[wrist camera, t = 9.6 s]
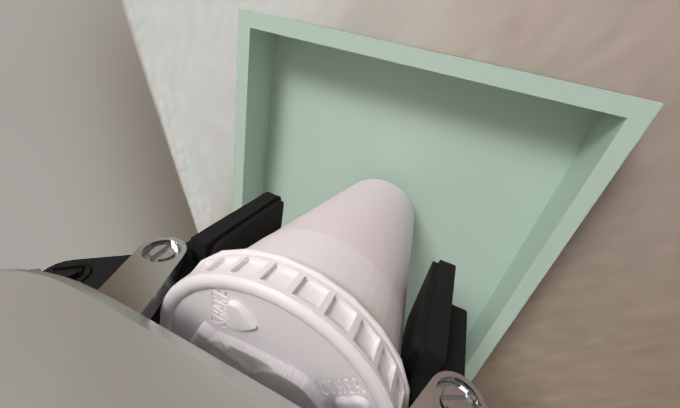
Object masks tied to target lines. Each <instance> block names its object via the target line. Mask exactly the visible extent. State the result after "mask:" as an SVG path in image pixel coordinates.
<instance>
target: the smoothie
mask: <svg viewBox="0 0 680 408" xmlns="http://www.w3.org/2000/svg"><path fill="white" fill-rule="evenodd" d="M413 226H414V210H413V207H412V204H411V202H410V200H409V198H408V197H407V196H406V194H405V193H404V192H403V191H402V190H401V189H400V188H398V187H397V186H395V185H394V184H392V183H390V182H387V181H384V180H380V179H367V180H363V181H360V182H358V183H356V184H354V185H353V186H351V187H349V188H348V189H346V190H344V191H343V192H341V193H339V194H338V195H336V196H334V197H333V198H331V199H329V200H327V201H326V202H324V203H322V204H321V205H319V206H317V207H316V208H314V209H312V210H311V211H309V212H307V213H306V214H304V215H302V216H301V217H299V218H297V219H295V220H294V221H292V222H290V223H289V224H287V225H285V226H284V227H282V228H280V229H279V230H277V231H275V232H274V233H272V234H270V235H268V236H266V237H264V238H263V239H261V240H259V241H258V242H256V243H255V244H253V245H251V246H250V247H248V248H247V249H234V250H222V251H220V252H218V253H216V254H214V255H211V256H209V257H207V258H205V259H203V260H201V261H200V262H199V264H198V265H197V266H196V267H195V268H194V270H193V271H192V272H191V273H190V274H188V275H187V276H186V277H184V278H183V279H181V280H180V281H179V282H177V283H176V284H175V285H173V286H172V287H171V289H170V290H169V291H168V292H167V294H166V296H165V297H164V300H163V303H162V306H161V311H160V326H162V327H164V328H166V329H167V330H169V331H171V332H173V333H174V334H176V335H178V336H179V337H181V338H183V339H185V340H186V341H188V342H190V343H192V344H193V345H195V346H197V347H198V348H200V349H202V350H204V351H205V352H207V353H209V354H211V355H212V356H214V357H216V358H217V359H219V360H221V361H223V362H224V363H226V364H228V365H229V366H231V367H233V368H235V369H236V370H238V371H240V372H241V373H243V374H245V375H247V376H248V377H250V378H252V379H253V380H255V381H257V382H258V383H260V384H262V385H264V386H265V387H267V388H269V389H270V390H272V391H274V392H276V393H277V394H279V395H281V396H282V397H284V398H286V399H287V400H289V401H291V402H292V403H294V404H296V405H298V406H299V407H301V408H408V405H409V394H410V388H409V384H408V380H407V377H406V373H405V370H404V366H403V362H402V359H401V357H400V355H401V347H402V339H403V329H404V315H405V305H406V295H407V285H408V275H409V266H410V256H411V246H412V236H413Z"/></svg>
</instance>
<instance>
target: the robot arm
mask: <svg viewBox="0 0 680 408" xmlns="http://www.w3.org/2000/svg"><path fill="white" fill-rule="evenodd" d="M283 208H284V202H283V201H281V197H280V196H278V195H275V194H273V193H270V192H265V193H263V194H262V195H260V196H259V197H257V198H255V199H254V200H252V201H250V202H249V203H247V204H245V205H244V206H242V207H241V208H239V209H237V210H236V211H234V212H232V213H231V214H229V215H227V216H226V217H224V218H223V219H221V220H219V221H218V222H216V223H214V224H213V225H211V226H209V227H208V228H206V229H204V230H203V231H201V232H200V233H198V234H196V235H195V236H193V237H192V238H191V240H190V241H188V242H187V243H184V242H183V241H181V240H180V239H177V238H172V237H162V238H156V239H152V240H150V241H148V242H145V243H144V244H143V245H141V246H140V247H139V248H138V249H137V250H136V251H135V252H134V253H133V254H132V255H125V256H113V257H101V258H91V259H80V260H79V259H78V260H71V261H65V262H61V263H58V264H55V265H53V266H51V267H49V268H47V269H46V270H44V271H41V269H31V270H27V269H0V408H301V407H299V406H298V405H296V404H294V403H292V402H291V401H289V400H287V399H286V398H284V397H282V396H281V395H279V394H277V393H276V392H274V391H272V390H270V389H269V388H267V387H265V386H264V385H262V384H260V383H258V382H257V381H255V380H253V379H252V378H250V377H248V376H247V375H245V374H243V373H241V372H240V371H238V370H236V369H235V368H233V367H231V366H229V365H228V364H226V363H224V362H223V361H221V360H219V359H217V358H216V357H214V356H212V355H211V354H209V353H207V352H205V351H204V350H202V349H200V348H198V347H197V346H195V345H193V344H192V343H190V342H188V341H186V340H185V339H183V338H181V337H179V336H178V335H176V334H174V333H173V332H171V331H169V330H167V329H166V328H164V327H162V326H160V311H161V306H162V303H163V300H164V297H165V296H166V294H167V292H168V291H169V290H170V289H171V287H172V286H173V285H175V284H176V283H177V282H179V281H180V280H181V279H183V278H184V277H186V276H187V275H188V274H190V273H191V272H192V271H193V270H194V268H195V267H196V266H197V265H198V264H199V262H200V261H201V260H203V259H205V258H207V257H209V256H211V255H214V254H216V253H218V252H220V251H222V250H234V249H247V248H248V247H250V246H251V245H253V244H255V243H256V242H258V241H259V240H261V239H263V238H264V237H266V236H268V235H270V234H272V233H274V232H275V231H277V230H279V229H280V228H281V225H282V216H283ZM455 271H456V266H455V265H453V264H451V263H448V262H445V261H443V260H440V261H439V262H438V263H437V262H435V261H433V262H432V264H431V266H430V268H429V270H428V273H427V275H426V277H425V280H424V282H423V284H422V286H421V289H420V291H419V293H418V295H417V298H416V300H415V302H414V304H413V307H412V309H411V311H410V314H409V316H408V319H407V322H406V326H405V330H404V333H403V339H402V347H401V355H400V357H401V359H402V362H403V366H404V370H405V373H406V377H407V380H408V384H409V388H410V394H409V405H408V408H487V405H486V403H485V400H484V398H483V396H482V394H481V393H480V391H479V390H478V388H477V387H476V386H475V385H474V384H473V383H472V382H471V381H470V380H468V379H467V378H465V357H466V332H467V311H466V310H464V309H462V308H460V307H457V306H455V305H453V304H452V300H453V290H454V280H455Z"/></svg>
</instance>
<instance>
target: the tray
mask: <svg viewBox="0 0 680 408" xmlns="http://www.w3.org/2000/svg"><path fill="white" fill-rule="evenodd" d="M663 104H664V103H661V102H656V101H652V100H647V99H643V98H638V97H634V96H629V95H625V94H620V93H616V92H611V91H607V90H603V89H598V88H594V87H589V86H585V85H580V84H576V83H571V82H567V81H562V80H558V79H553V78H549V77H544V76H540V75H535V74H531V73H526V72H522V71H517V70H513V69H508V68H504V67H500V66H495V65H491V64H486V63H482V62H477V61H473V60H468V59H464V58H459V57H455V56H450V55H446V54H441V53H437V52H432V51H428V50H423V49H419V48H414V47H410V46H405V45H401V44H396V43H392V42H388V41H383V40H379V39H374V38H370V37H365V36H361V35H356V34H352V33H347V32H343V31H338V30H334V29H329V28H325V27H320V26H316V25H311V24H307V23H302V22H298V21H293V20H289V19H284V18H280V17H276V16H271V15H267V14H262V13H258V12H253V11H249V10H244V9H240V8H239V12H238V47H237V82H236V118H235V153H234V188H233V212H234V211H236V210H237V209H239V208H241V207H242V206H244V205H245V204H247V203H249V202H250V201H252V200H254V199H255V198H257V197H259V196H260V195H262V194H263V193H265V192H270V193H273V194H275V195H278V196H280V197H281V201H283V202H284V208H283V216H282V225H281V228H282V227H284V226H285V225H287V224H289V223H290V222H292V221H294V220H295V219H297V218H299V217H301V216H302V215H304V214H306V213H307V212H309V211H311V210H312V209H314V208H316V207H317V206H319V205H321V204H322V203H324V202H326V201H327V200H329V199H331V198H333V197H334V196H336V195H338V194H339V193H341V192H343V191H344V190H346V189H348V188H349V187H351V186H353V185H354V184H356V183H358V182H360V181H363V180H367V179H380V180H384V181H387V182H390V183H392V184H394V185H395V186H397V187H398V188H400V189H401V190H402V191H403V192H404V193H405V194H406V196H407V197H408V198H409V200H410V202H411V204H412V207H413V210H414V226H413V236H412V246H411V256H410V266H409V275H408V285H407V295H406V305H405V315H404V329H403V333H404V330H405V326H406V322H407V319H408V316H409V314H410V311H411V309H412V307H413V304H414V302H415V300H416V298H417V295H418V293H419V291H420V289H421V286H422V284H423V282H424V280H425V277H426V275H427V273H428V270H429V268H430V266H431V264H432V262H433V261H435V262H437V263H438V262H439V261H440V260H443V261H445V262H448V263H451V264H453V265H455V266H456V271H455V280H454V290H453V300H452V304H453V305H455V306H457V307H460V308H462V309H464V310H466V311H467V332H466V357H465V378H467V379H468V380H470V381H472V380H473V378H474V377H475V375H476V374H477V372H478V371H479V369H480V368H481V367H482V365H483V364H484V362H485V361H486V359H487V358H488V356H489V355H490V354H491V352H492V351H493V349H494V348H495V346H496V345H497V343H498V342H499V341H500V339H501V338H502V336H503V335H504V333H505V332H506V330H507V329H508V328H509V326H510V325H511V323H512V322H513V320H514V319H515V318H516V316H517V315H518V313H519V312H520V310H521V309H522V307H523V306H524V305H525V303H526V302H527V300H528V299H529V297H530V296H531V294H532V293H533V292H534V290H535V289H536V287H537V286H538V284H539V283H540V281H541V280H542V279H543V277H544V276H545V274H546V273H547V271H548V270H549V268H550V267H551V266H552V264H553V263H554V261H555V260H556V258H557V257H558V256H559V254H560V253H561V251H562V250H563V248H564V247H565V245H566V244H567V243H568V241H569V240H570V238H571V237H572V235H573V234H574V232H575V231H576V230H577V228H578V227H579V225H580V224H581V222H582V221H583V219H584V218H585V217H586V215H587V214H588V212H589V211H590V209H591V208H592V206H593V205H594V204H595V202H596V201H597V199H598V198H599V196H600V195H601V194H602V192H603V191H604V189H605V188H606V186H607V185H608V183H609V182H610V181H611V179H612V178H613V176H614V175H615V173H616V172H617V170H618V169H619V168H620V166H621V165H622V163H623V162H624V160H625V159H626V157H627V156H628V155H629V153H630V152H631V150H632V149H633V147H634V146H635V144H636V143H637V142H638V140H639V139H640V137H641V136H642V134H643V133H644V132H645V130H646V129H647V127H648V126H649V124H650V123H651V121H652V120H653V119H654V117H655V116H656V114H657V113H658V111H659V110H660V108H661V107H662V106H663Z"/></svg>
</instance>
